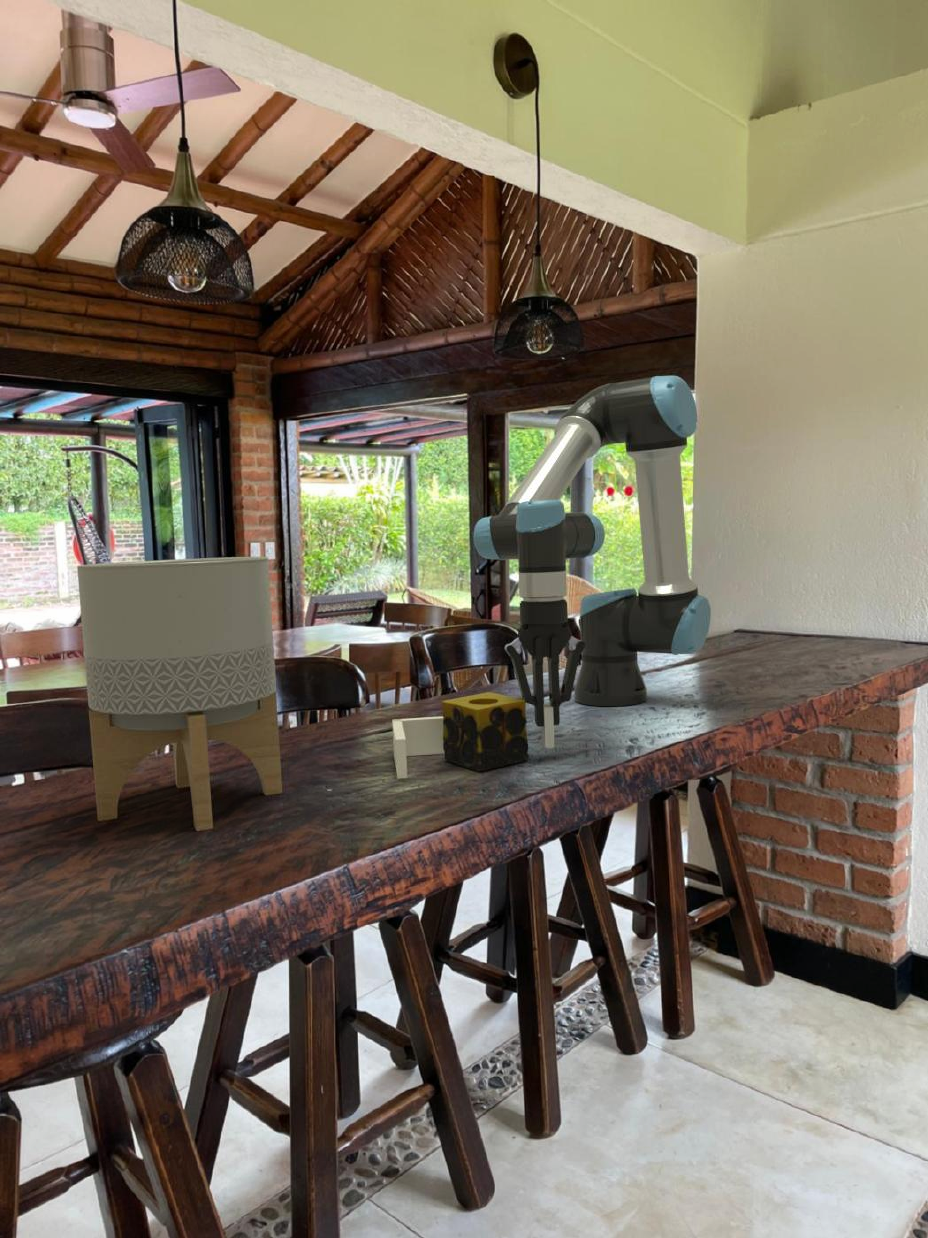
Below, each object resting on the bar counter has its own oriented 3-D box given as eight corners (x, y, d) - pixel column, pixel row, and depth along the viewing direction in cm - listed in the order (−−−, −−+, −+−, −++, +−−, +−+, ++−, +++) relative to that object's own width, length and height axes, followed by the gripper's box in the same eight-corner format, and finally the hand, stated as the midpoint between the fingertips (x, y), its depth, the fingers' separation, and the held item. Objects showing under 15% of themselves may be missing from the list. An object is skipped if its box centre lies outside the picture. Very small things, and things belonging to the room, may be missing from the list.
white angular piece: (511, 746, 153) (510, 712, 152) (528, 769, 138) (526, 731, 137) (393, 754, 150) (392, 719, 150) (397, 778, 136) (395, 739, 135)
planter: (100, 847, 110) (77, 567, 107) (95, 796, 133) (76, 564, 130) (300, 814, 120) (285, 557, 117) (264, 772, 143) (250, 555, 139)
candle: (492, 750, 151) (489, 691, 150) (531, 761, 143) (528, 699, 142) (442, 761, 145) (439, 700, 144) (479, 773, 137) (477, 708, 136)
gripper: (577, 595, 146) (581, 738, 148) (498, 599, 144) (504, 743, 147) (589, 598, 139) (593, 748, 141) (506, 602, 137) (512, 754, 139)
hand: (548, 745), depth 144 cm, fingers closed
